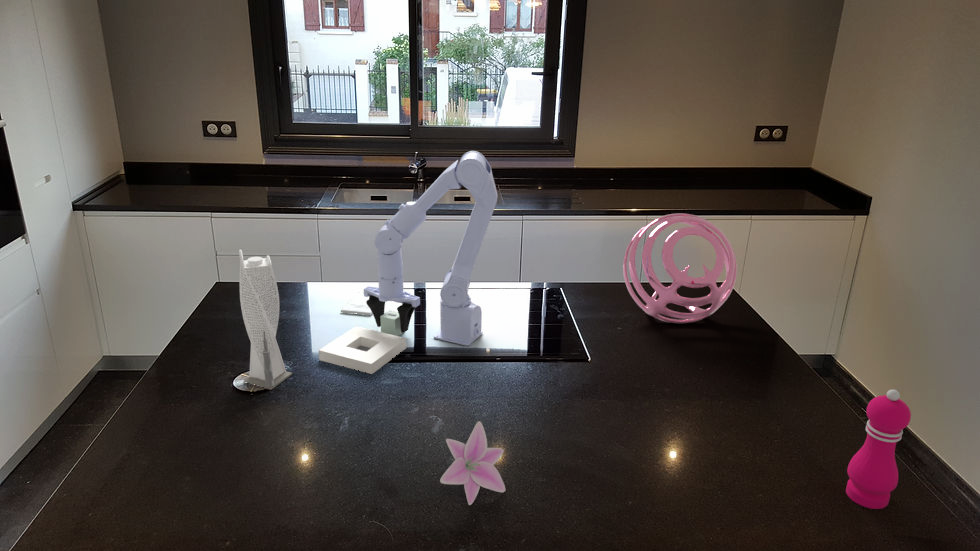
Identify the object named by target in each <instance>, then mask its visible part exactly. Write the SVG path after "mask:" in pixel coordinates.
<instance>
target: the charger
mask: <svg viewBox="0 0 980 551" xmlns="http://www.w3.org/2000/svg"><path fill="white" fill-rule="evenodd" d="M380 318H381V326H380V332H383V333H387V334H391V335H395V336H399V335H400V336H401V335H403V333H402V332H401V327H400V317H399V313H398V311H393V310H388V311H386V312H384V314H383V315H382V316H380ZM400 336H399V337H400Z"/></svg>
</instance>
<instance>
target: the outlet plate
mask: <svg viewBox="0 0 980 551" xmlns="http://www.w3.org/2000/svg"><path fill="white" fill-rule="evenodd" d="M406 349H408V348H407V337H403V336H395V335H391V334H387V333H383V332H381V331H378V330H375V329H369V328H366V327H361V326H357V325H356V326H354V327H353V328H351V329H349V330H348V331H346V332H345V333H343V334H341V335H340V336H338V337H337V338H335V339H334V340H332V341H331V342H329V343H327V344H326V345H325V346H324V345H323V347H321V348H320V349H318V360H319V361H321V362H325V363H329V364H333V365H336V366H339V367H343V366H344V367H343V368H347V369H351V370H354V369H355V370H354V371H358V370H359V371H360V372H362V373H365V372H366V373H365V374H370V375H373V374H374V373H375V372H377V371H378V370H380V369H381V368H382V367H384V366H385V365H386V364H387V363H389V362H390V361H392V358H393V359H394V358H395V357H397V356H398V355H399V354H401V353H402V352H403V351H404V350H406ZM400 352H401V353H400ZM396 355H397V356H396ZM359 371H358V372H359Z"/></svg>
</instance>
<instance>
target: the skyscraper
mask: <svg viewBox="0 0 980 551" xmlns="http://www.w3.org/2000/svg"><path fill="white" fill-rule="evenodd" d="M238 255H239V301H240V308H241V314H242V319H243V323H244V326H245V329H246V333H247V336H248V339H249V340H250V354H249V355H250V356H249V357H250V358H249V377H247V378H246V379H245V380H243V383H244V382H247V383H252V384H255V385H259V386H262V387H265V388H264V389H266V388H267V389H266V390H270V391H271V390H273V389H274V388H276V387H277V386H279V385H280V384H281V383H282V382H284V381H286V380H287V379H289V378H290V377H291V376H292V375H293V372H291V371H287V370H286V367H285V364H284V363H285V362H284V359H283V358H282V354H281V351H280V347H279V344H278V342H277V338H276V336H277V330H278V326H279V319H280V294H279V289H278V288H279V287H278V283H277V280H276V275H275V271H274V268H273V264H272V260H271V257H270V255H268V254H267V255H266V257H264V258H263V257H262V256H251V257H248V258H247V259H245V260H244V256H243V251H242V249H239V250H238ZM262 387H261V388H262Z"/></svg>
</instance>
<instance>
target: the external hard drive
mask: <svg viewBox="0 0 980 551" xmlns="http://www.w3.org/2000/svg"><path fill="white" fill-rule="evenodd" d="M367 300H369V296H368V297H365V296H364V291H359V292H357V293H356V294H355V295H354V296H353V298H352V299H350V301H349V302H347V303H346V305H345V306H343V308H341V310H340V313H341V312H343V313H342V314H345V313H357V314H356V315H358V314H364V315H370V316H369V317H371V316H373V313H372V311H371V309H370V308H369V306H368V305H367V303H366V301H367ZM364 315H363V316H364Z"/></svg>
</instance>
